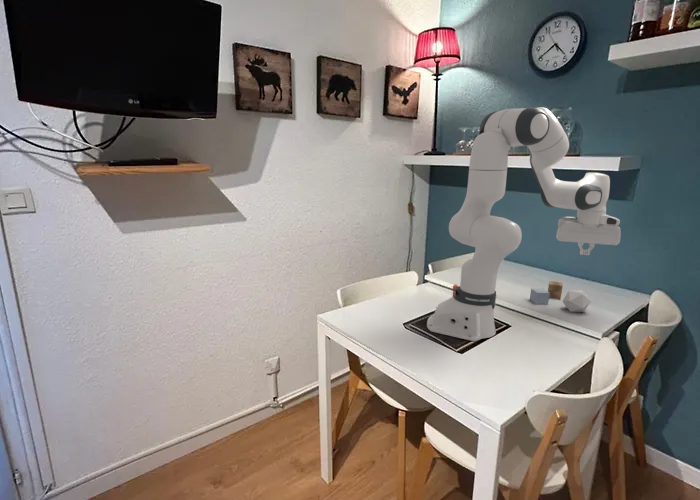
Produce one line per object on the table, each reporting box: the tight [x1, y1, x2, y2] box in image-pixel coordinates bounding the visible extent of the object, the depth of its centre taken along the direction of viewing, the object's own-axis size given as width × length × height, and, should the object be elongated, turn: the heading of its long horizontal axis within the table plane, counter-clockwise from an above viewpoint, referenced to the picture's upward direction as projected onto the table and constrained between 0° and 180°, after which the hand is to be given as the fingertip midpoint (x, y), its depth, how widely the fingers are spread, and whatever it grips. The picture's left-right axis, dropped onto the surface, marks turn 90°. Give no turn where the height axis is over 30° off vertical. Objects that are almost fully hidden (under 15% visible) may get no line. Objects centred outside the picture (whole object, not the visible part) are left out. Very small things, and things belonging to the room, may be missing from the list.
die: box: [561, 289, 592, 313], centre depth 149 cm, size 8×9×10 cm
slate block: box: [529, 288, 550, 305], centre depth 158 cm, size 5×5×5 cm
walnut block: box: [547, 280, 564, 301], centre depth 164 cm, size 5×5×6 cm
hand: (584, 254), depth 146 cm, fingers closed
